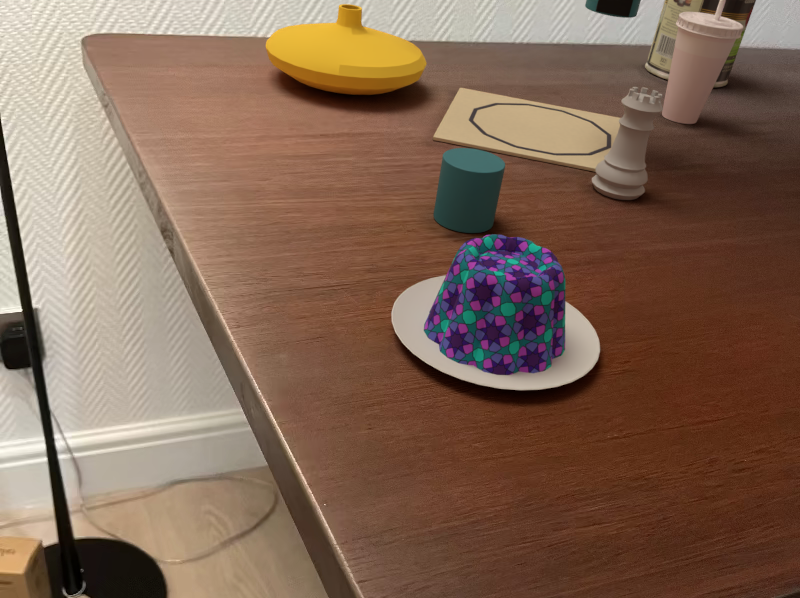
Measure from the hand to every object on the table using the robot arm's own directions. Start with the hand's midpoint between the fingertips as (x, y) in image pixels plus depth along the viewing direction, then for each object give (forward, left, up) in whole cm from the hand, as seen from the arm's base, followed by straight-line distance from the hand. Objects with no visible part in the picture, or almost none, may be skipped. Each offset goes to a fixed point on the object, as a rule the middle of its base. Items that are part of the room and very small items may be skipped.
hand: (612, 6), depth 68 cm
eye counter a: (+8, +22, -12) cm, 26 cm away
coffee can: (-12, -33, -12) cm, 37 cm away
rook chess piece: (-4, +10, -12) cm, 16 cm away
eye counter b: (0, 0, 0) cm, 0 cm away
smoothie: (-10, -14, -12) cm, 21 cm away
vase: (+24, -4, -12) cm, 27 cm away
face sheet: (+4, -1, -12) cm, 12 cm away
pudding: (+4, +37, -12) cm, 39 cm away
